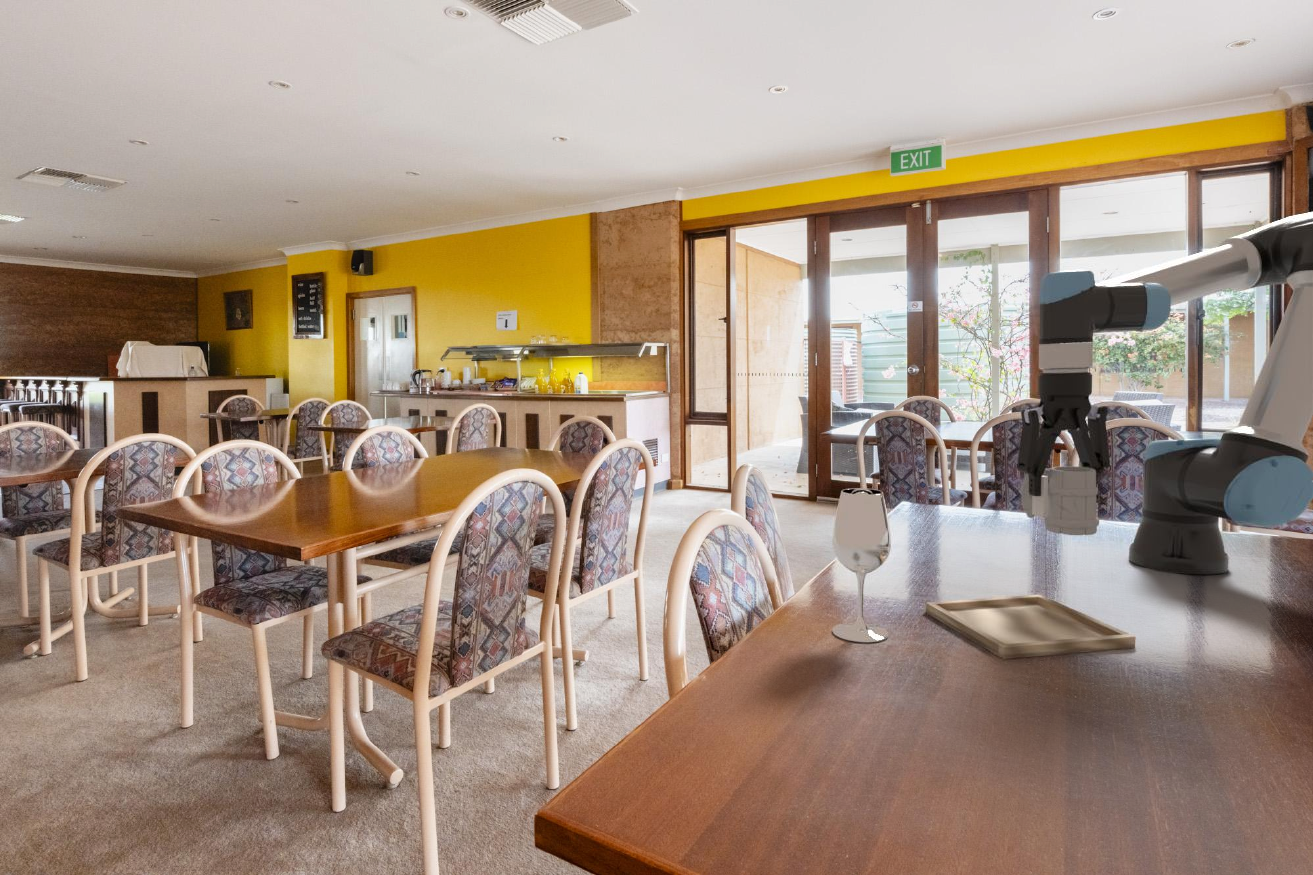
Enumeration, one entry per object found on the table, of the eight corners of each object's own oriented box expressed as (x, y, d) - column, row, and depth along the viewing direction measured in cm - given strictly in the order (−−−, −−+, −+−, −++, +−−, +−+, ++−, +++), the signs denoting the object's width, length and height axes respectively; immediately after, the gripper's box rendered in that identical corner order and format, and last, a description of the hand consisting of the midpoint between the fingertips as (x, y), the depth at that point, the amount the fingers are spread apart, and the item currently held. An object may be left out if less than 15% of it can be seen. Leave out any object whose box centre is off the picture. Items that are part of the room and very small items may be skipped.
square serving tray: (1039, 603, 120) (1039, 594, 120) (1135, 647, 101) (1135, 636, 101) (925, 612, 117) (925, 602, 116) (1003, 659, 98) (1003, 647, 98)
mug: (1087, 538, 117) (1089, 459, 116) (1009, 527, 126) (1011, 454, 125) (1107, 530, 122) (1109, 454, 121) (1031, 520, 131) (1032, 449, 130)
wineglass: (890, 627, 110) (893, 488, 108) (888, 646, 103) (890, 497, 101) (834, 621, 113) (836, 485, 111) (828, 639, 106) (829, 494, 104)
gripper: (1104, 368, 128) (1101, 505, 130) (991, 373, 124) (990, 514, 126) (1140, 368, 120) (1136, 514, 122) (1021, 373, 117) (1020, 523, 119)
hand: (1062, 514), depth 124 cm, fingers closed on mug, 7 cm apart
